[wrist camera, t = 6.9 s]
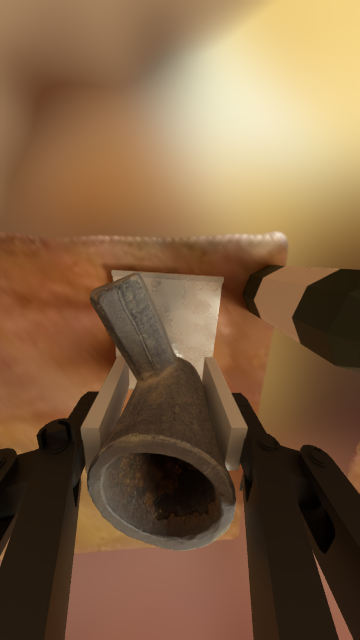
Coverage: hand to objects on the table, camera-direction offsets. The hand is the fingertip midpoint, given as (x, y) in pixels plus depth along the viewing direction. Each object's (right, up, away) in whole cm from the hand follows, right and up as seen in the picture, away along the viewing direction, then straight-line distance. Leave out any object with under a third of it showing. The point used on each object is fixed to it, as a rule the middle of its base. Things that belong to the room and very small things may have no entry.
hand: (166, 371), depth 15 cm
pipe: (0, +1, 0) cm, 1 cm away
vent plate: (-1, +2, +17) cm, 17 cm away
